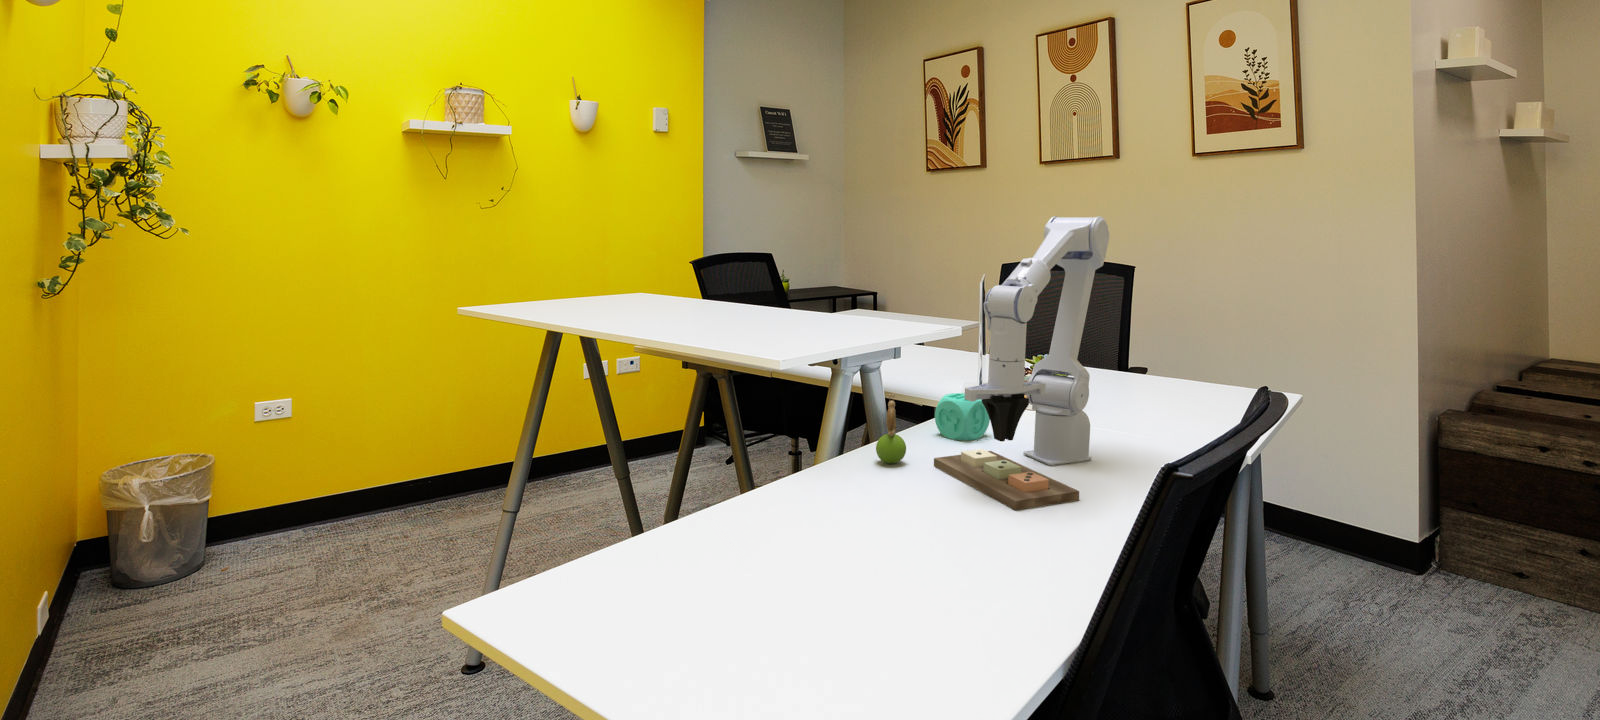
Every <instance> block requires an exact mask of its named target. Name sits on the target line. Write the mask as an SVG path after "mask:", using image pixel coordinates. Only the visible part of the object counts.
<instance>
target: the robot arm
mask: <svg viewBox="0 0 1600 720" xmlns="http://www.w3.org/2000/svg"><path fill="white" fill-rule="evenodd" d="M1108 225H1109V224H1108V223H1107V221H1106V220H1105V218H1104V217H1103V216H1095V217H1093V216H1090V217H1089V216H1088V217H1085V216H1084V217H1082V216H1081V217H1080V216H1078V217H1076V216H1074V217H1070V216H1069V217H1067V216H1066V217H1061V216H1060V217H1059V216H1052V217H1051V218H1049V220H1048V221H1047V223H1046V224H1045V225H1044V229H1043V230H1044V231H1043V240H1042V242H1041V244H1040V245H1039V247H1038V248H1037V250H1036V251H1035V253H1034V254H1033V256H1032V257H1027V258H1022V260H1021V261H1020V263H1018V265H1017V266H1016V267H1015V268H1014V269H1013V270H1012V272H1011V273H1010V275H1008V277H1007V278H1006V279H1005V280H1004V281H1003V283H1001V284H998V285H995V286H993V287H992V288H990V289H989V290H988V291H987V293H986V295H985V299H984V302H983V311H984V315H985V318H986V327H987V330H988V331H989V351H988V352H989V353H988V377H987V378H988V379H987V380H988V381H987V383H983V384H978V385H974V386H968V387H967V386H966V387H965V388H964V393H965V399H966V400H968V401H976V400H980V399H982V403H983V405H984V407H985V409H986V411H987V413H988V415H989V418H990V421H989V422H990V425H991V429H992V434H993V438H994V440H996V441H998V442H1005V441H1006V440H1007V441H1014V436H1015V434H1016V431H1017V427H1018V425H1019V422H1020V420H1021V418H1022V416H1023V414H1024V412H1025V411H1026V409H1027V408H1028V407H1029V406H1030V405H1031V410H1033V411H1035V417H1034V418H1035V420H1034V440H1033V450H1026V451H1023V455H1025V456H1027V457H1029V458H1032V459H1034V460H1036V461H1039V462H1041V463H1043V464H1046V465H1048V466H1056V465H1063V464H1071V463H1078V462H1086V461H1092V456H1090V454H1089V453H1090V441H1091V440H1090V439H1091V438H1090V437H1091V422H1090V419H1089V416H1088V415H1087V413H1086V412H1085V411H1083V410H1084V409H1085V407H1086V406H1087V404H1088V402H1089V397H1090V387H1089V386H1090V377H1091V376H1090V373H1089V372H1088V370H1087V369H1086V367H1085V366H1083V365H1082V364H1081V363H1080V361H1079V360H1078V358H1079V357H1078V356H1079V352H1080V348H1081V342H1082V336H1083V332H1084V327H1085V322H1086V318H1087V312H1088V307H1089V303H1090V298H1091V292H1092V288H1093V284H1094V278H1095V273H1096V271H1097V270H1098V269H1100V268H1101V267H1103V266H1104V262H1105V259H1106V257H1107V256H1106V255H1107V252H1108V247H1109V242H1110V231H1109V226H1108ZM1056 265H1057V266H1058V267H1061V268H1063V270H1064V274H1065V275H1064V280H1063V283H1062V289H1061V295H1060V298H1059V303H1058V308H1057V309H1058V310H1057V314H1056V319H1055V324H1054V327H1053V334H1052V338H1051V343H1050V349H1049V351H1048V352H1049V353H1048V355H1047V356H1045V357H1044V358H1042V359H1040V360H1039V361H1037V362H1036V363H1034V365H1033V368H1032V372H1031V374H1030V376H1029V379H1028V380H1027V381H1025V368H1026V345H1027V324H1028V323H1027V322H1029V321H1030V320H1031V319H1032V318H1033V316H1034V312H1035V307H1036V305H1037V303H1038V297H1039V295H1040V294H1041V293H1042V292H1043V290H1044V289H1045V288H1046V286H1047V285H1048V284H1049V282H1050V280H1051V278H1052V277H1051V270H1052V269H1053V268H1054V267H1055V266H1056ZM1025 396H1026V397H1025ZM1029 404H1030V405H1029Z"/></svg>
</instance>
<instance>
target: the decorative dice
mask: <svg viewBox="0 0 1600 720" xmlns="http://www.w3.org/2000/svg"><path fill="white" fill-rule="evenodd" d="M934 411H935V412H934V421H935V425H936V428H937V429H938V431H939V433H940V434H941V435H942V436H943V437H944V438H946V439H949V440H955V441H965V442H966V441H975V440H979V439H981V438H982V436H984V435H985V433H986V432H987V430H988V427H989V426H990V425H989V424H990V422H991V421H990V418H989V415H988V413H987V411H986V409H985V407H984V405H983V403H982V399H980V400H976V401H968V400H966V399H965V392H964V393H963V392H953V393H947V394H945V395H943V396H942V398H941V399H939V401H938V403H937V405H936V407H935V410H934Z"/></svg>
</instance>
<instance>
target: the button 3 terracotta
mask: <svg viewBox="0 0 1600 720" xmlns="http://www.w3.org/2000/svg"><path fill="white" fill-rule="evenodd" d="M1048 482H1049V480H1048V479H1046V478H1044V477H1042V476H1040V475H1037V474H1035V473H1033V472H1025V473H1018V474H1011V475H1009V477H1008V485H1010V486H1012V487H1014V488H1016V489H1018V490H1020V491H1022V492H1024V493H1028V492H1035V491H1041V490H1048Z"/></svg>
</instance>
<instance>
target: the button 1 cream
mask: <svg viewBox="0 0 1600 720" xmlns="http://www.w3.org/2000/svg"><path fill="white" fill-rule="evenodd" d="M987 451H988V450H985V449H983V448H981V449H973V450H971V449H970V450H966V451H965V450H964V451H960V455H961V461H962V462H964V463H966V464H968V465H970V466H972V467H974V468H975V467H983V466H984V463H986V462H993V461H997V456H996V455H994V454H992V453H990V452H987Z"/></svg>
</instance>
